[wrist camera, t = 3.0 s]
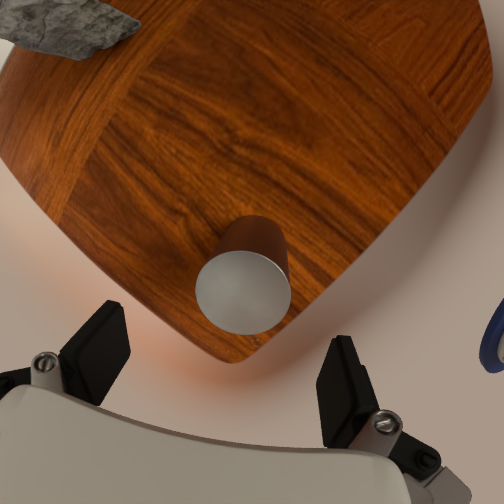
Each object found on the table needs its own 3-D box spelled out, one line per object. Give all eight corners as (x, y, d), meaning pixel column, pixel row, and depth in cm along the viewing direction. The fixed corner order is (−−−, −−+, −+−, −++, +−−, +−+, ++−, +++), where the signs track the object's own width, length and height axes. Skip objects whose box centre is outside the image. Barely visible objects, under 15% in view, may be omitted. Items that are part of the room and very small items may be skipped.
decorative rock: (155, 32, 18) (57, -39, 4) (111, 85, 20) (-12, 57, 6) (80, -7, 15) (4, -43, 1) (47, 35, 17) (-37, 15, 3)
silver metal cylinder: (290, 219, 23) (299, 258, 15) (280, 279, 25) (282, 340, 16) (225, 211, 23) (196, 244, 15) (220, 270, 25) (194, 327, 17)
